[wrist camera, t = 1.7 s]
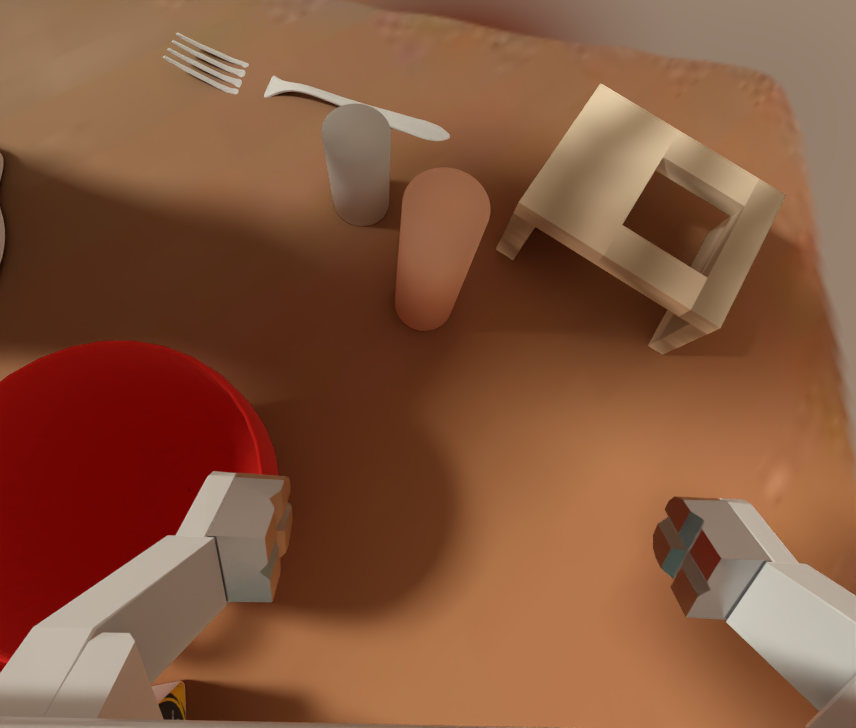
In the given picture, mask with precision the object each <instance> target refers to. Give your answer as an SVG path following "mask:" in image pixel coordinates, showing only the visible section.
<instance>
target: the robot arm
mask: <svg viewBox="0 0 856 728" xmlns="http://www.w3.org/2000/svg"><path fill="white" fill-rule="evenodd" d="M2 171H3V156H2V154H1V153H0V180H1V176H2ZM4 244H5V227H4V220H3V216H2V212H1V208H0V263H1V259H2V256H3V251H4ZM290 491H291V488H290V479H289V477H287V476H276V475H263V474H250V473H230V472H218V471H213V472H212V473H211V474H210V475H209V476H208V477H207V478H206V480H205V482H204V484H203V486H202V488H201V489H200V491H199V493H198V495H197V497H196V499H195V500H194V502H193V504H192V506H191V508H190V510H189V512H188V513H187V515H186V517H185V519H184V521H183V523H182V525H181V526H180V528H179V530H178V532H177V534H176V536H174V535H167V536H166V537H164V538H163V539H161V540H160V541H159V542H157V543H156V544H154V545H153V546H151V547H150V548H148V549H147V550H145V551H144V552H142V553H141V554H140V555H138V556H137V557H135V558H134V559H132V560H131V561H129V562H128V563H126V564H125V565H123V566H122V567H120V568H119V569H118V570H116V571H115V572H113V573H112V574H110V575H109V576H107V577H106V578H104V579H103V580H101V581H100V582H99V583H97V584H96V585H94V586H93V587H91V588H90V589H88V590H87V591H85V592H84V593H82V594H81V595H80V596H78V597H77V598H75V599H74V600H72V601H71V602H69V603H68V604H66V605H65V606H63V607H62V608H60V609H59V610H58V611H56V612H55V613H53V614H52V615H50V616H49V617H47V618H46V619H44V620H43V621H41V622H40V623H39V624H37V625H36V626H34V627H33V628H32V629H31V631H30V632H29V634H28V635H27V636H26V638H25V639H24V641H23V642H22V643H21V645H20V646H19V648H18V649H17V650H16V652H15V653H14V655H13V656H12V657H11V659H10V660H9V662H8V663H7V664H6V666H5V667H4V669H3V670H2V671H1V673H0V728H558V727H508V726H457V725H407V724H357V723H307V722H258V721H208V720H164V719H163V716H162V714H161V711H160V708H159V705H158V703H157V700H156V697H155V695H154V692H153V689H152V687H151V684H152V683H153V682H154V681H155V680H156V678H157V677H158V676H159V675H160V674H161V673H162V672H163V671H164V670H165V669H166V668H167V667H168V666H169V665H170V664H171V663H172V662H173V661H174V660H175V659H176V658H177V657H178V655H179V654H180V653H181V652H182V651H183V650H184V649H185V648H186V647H187V646H188V645H189V644H190V643H191V642H192V641H193V640H194V639H195V638H196V637H197V636H198V635H199V633H200V632H201V631H202V630H203V629H204V628H205V627H206V626H207V625H208V624H209V623H210V622H211V621H212V620H213V619H214V618H215V617H216V616H217V615H218V614H219V613H220V612H221V610H222V609H223V608H224V607H225V606H226V605H227V602H272V601H273V598H274V594H275V591H276V587H277V584H278V580H279V577H280V573H281V567H280V557H281V556H283V555H284V554H285V553H286V552H287V548H288V544H289V540H290V534H291V528H292V505H291V504H290V503H289V502H288V498H289V494H290ZM665 511H666V513H667V516H668V517H667V518H665V519H664V520H663V521H661V522H660V523H658V524H657V527H656V529H655V532H654V534H653V549H654V553H655V557H656V559H657V561H658V563H659V565H660V567H661V569H662V570H664V571H665V572H666V573H667V574H668V575H670V576H671V577H672V578H673V579H672V583H671V589H672V591H673V593H674V595H675V597H676V599H677V601H678V603H679V605H680V607H681V609H682V611H683V613H684V614H685V616H686V617H691V618H706V619H721V620H727V621H726V623H728V624H729V625H730V626H731V627H732V628H733V629H734V630H735V631H736V632H737V633H738V634H739V635H740V636H741V637H742V638H743V639H744V640H745V641H746V642H747V643H748V644H749V645H750V646H751V647H753V648H754V649H755V650H756V651H757V652H758V653H759V654H760V655H761V656H762V657H763V658H764V659H765V660H766V661H767V662H768V663H769V664H770V665H771V666H772V667H773V668H774V669H775V670H776V671H777V672H779V673H780V674H781V675H782V676H783V677H784V678H785V679H786V680H787V681H788V682H789V683H790V684H791V685H792V686H793V687H794V688H795V689H796V690H797V691H798V692H799V693H800V694H801V695H802V696H804V697H805V698H806V699H807V700H808V701H809V702H810V703H811V704H812V705H813V706H814V707H815V708H816V709H817V710H818V711H819V712H818V713H817V714H816V715H815V716H814V717H813V718H812V719H811V720H810V721H809V722H808V723H807V724H806V726H805V728H856V595H854V594H853V593H851V592H849V591H848V590H846V589H845V588H843V587H842V586H840V585H839V584H837V583H835V582H834V581H832V580H831V579H829V578H828V577H826V576H825V575H823V574H821V573H820V572H818V571H817V570H815V569H814V568H812V567H811V566H809V565H807V564H803V563H798V561H797V560H796V559H795V558H794V556H793V555H792V554H791V553H790V552H789V550H788V549H787V548H786V547H785V545H784V544H783V543H782V542H781V540H780V539H779V538H778V537H777V535H776V534H775V533H774V532H773V531H772V529H771V528H770V527H769V526H768V524H767V523H766V522H765V521H764V519H763V518H762V517H761V516H760V514H759V513H758V512H757V511H756V510H755V508H754V507H753V506H752V505H751V504H750V503H749V502H747V501H745V500H744V499H722V498H721V499H717V498H697V497H673V498H672V499H671V500H669V502H668V504H667V506H666V508H665Z"/></svg>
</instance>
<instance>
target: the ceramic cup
mask: <svg viewBox="0 0 856 728" xmlns="http://www.w3.org/2000/svg"><path fill="white" fill-rule="evenodd" d="M213 471H218V472H230V473H250V474H263V475H276V476H279V472H278V466H277V460H276V454H275V450H274V447H273V445H272V442H271V439H270V437H269V434H268V432H267V429H266V427H265V425H264V424H263V422H262V421H261V419H260V418H259V416H258V415H257V413H256V412H255V410H254V408H253V407H252V405H251V404H250V403H249V402H248V400H247V399H246V398H245V397H244V396H243V395H242V394H241V393H240V392H239V391H238V390H237V389H236V388H235V387H234V386H233V385H232V384H231V383H230V382H229V381H227V380H226V379H225V378H224V377H223V376H222V375H221V374H219V373H218V372H216V371H215V370H213V369H212V368H210V367H208V366H207V365H205V364H204V363H202V362H200V361H199V360H197V359H196V358H194V357H192V356H189V355H187V354H184V353H181V352H179V351H176V350H173V349H171V348H168V347H165V346H162V345H156V344H150V343H144V342H139V341H98V342H93V343H88V344H82V345H77V346H72V347H68V348H66V349H63V350H60V351H57V352H55V353H52V354H49V355H46V356H44V357H41V358H39V359H37V360H35V361H33V362H31V363H30V364H28V365H26V366H24V367H22V368H21V369H19V370H17V371H15V372H13V373H12V374H10V375H8V376H7V377H6V378H5V379H3V380H2V381H1V382H0V673H1V671H2V670H3V669H4V667H5V666H6V664H7V663H8V662H9V660H10V659H11V657H12V656H13V655H14V653H15V652H16V650H17V649H18V648H19V646H20V645H21V643H22V642H23V641H24V639H25V638H26V636H27V635H28V634H29V632H30V631H31V629H32V628H33V627H34V626H36V625H37V624H39V623H40V622H41V621H43V620H44V619H46V618H47V617H49V616H50V615H52V614H53V613H55V612H56V611H58V610H59V609H60V608H62V607H63V606H65V605H66V604H68V603H69V602H71V601H72V600H74V599H75V598H77V597H78V596H80V595H81V594H82V593H84V592H85V591H87V590H88V589H90V588H91V587H93V586H94V585H96V584H97V583H99V582H100V581H101V580H103V579H104V578H106V577H107V576H109V575H110V574H112V573H113V572H115V571H116V570H118V569H119V568H120V567H122V566H123V565H125V564H126V563H128V562H129V561H131V560H132V559H134V558H135V557H137V556H138V555H140V554H141V553H142V552H144V551H145V550H147V549H148V548H150V547H151V546H153V545H154V544H156V543H157V542H159V541H160V540H161V539H163V538H164V537H166V536H167V535H174V536H176V534H177V532H178V530H179V528H180V526H181V525H182V523H183V521H184V519H185V517H186V515H187V513H188V512H189V510H190V508H191V506H192V504H193V502H194V500H195V499H196V497H197V495H198V493H199V491H200V489H201V488H202V486H203V484H204V482H205V480H206V478H207V477H208V476H209V475H210V474H211V473H212V472H213Z"/></svg>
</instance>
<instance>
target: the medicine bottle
mask: <svg viewBox="0 0 856 728" xmlns="http://www.w3.org/2000/svg"><path fill="white" fill-rule="evenodd" d="M151 687H152V689H153V692H154V695H155V697H156V700H157V703H158V705H159V708H160V711H161V714H162V716H163V719H164V720H186V701H185V685H184V683H183V682H182V681H176V682H171V683H166V684H161V685H156V686H151Z"/></svg>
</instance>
